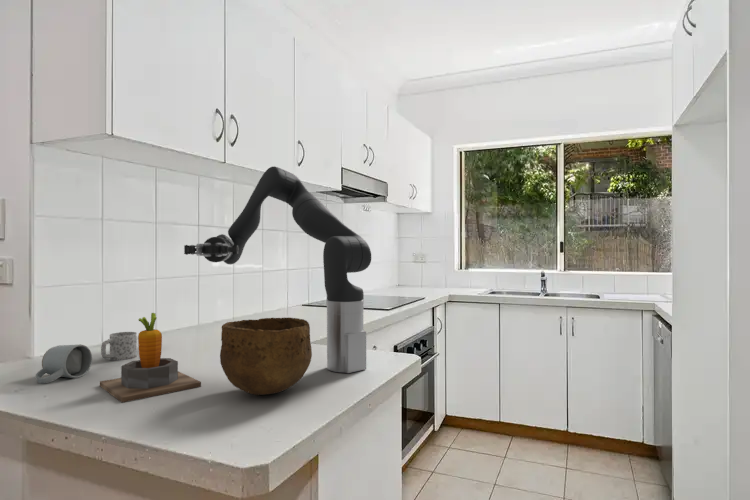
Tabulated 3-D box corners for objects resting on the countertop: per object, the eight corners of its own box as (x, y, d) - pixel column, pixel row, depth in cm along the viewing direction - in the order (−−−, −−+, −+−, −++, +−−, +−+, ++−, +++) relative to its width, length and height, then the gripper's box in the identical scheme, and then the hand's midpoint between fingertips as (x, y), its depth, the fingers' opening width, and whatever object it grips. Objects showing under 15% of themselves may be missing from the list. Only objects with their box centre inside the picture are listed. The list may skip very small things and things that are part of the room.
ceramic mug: (66, 371, 120) (65, 340, 120) (93, 373, 118) (92, 341, 118) (25, 383, 110) (24, 349, 110) (54, 386, 108) (53, 351, 108)
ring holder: (200, 386, 107) (200, 363, 106) (122, 402, 96) (121, 377, 95) (172, 372, 118) (172, 352, 118) (99, 385, 107) (99, 363, 107)
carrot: (144, 386, 103) (144, 315, 103) (133, 382, 106) (133, 313, 106) (166, 380, 107) (166, 313, 107) (155, 377, 110) (155, 311, 110)
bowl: (282, 375, 115) (282, 313, 115) (329, 393, 101) (328, 322, 101) (204, 391, 103) (204, 321, 103) (245, 414, 89) (245, 332, 89)
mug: (125, 354, 139) (124, 331, 139) (142, 356, 137) (141, 332, 137) (93, 361, 130) (92, 337, 130) (110, 364, 128) (110, 338, 128)
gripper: (193, 237, 146) (179, 235, 130) (241, 237, 148) (234, 235, 132) (193, 262, 146) (179, 263, 130) (242, 261, 148) (234, 263, 132)
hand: (207, 249), depth 131 cm, fingers open, 8 cm apart
